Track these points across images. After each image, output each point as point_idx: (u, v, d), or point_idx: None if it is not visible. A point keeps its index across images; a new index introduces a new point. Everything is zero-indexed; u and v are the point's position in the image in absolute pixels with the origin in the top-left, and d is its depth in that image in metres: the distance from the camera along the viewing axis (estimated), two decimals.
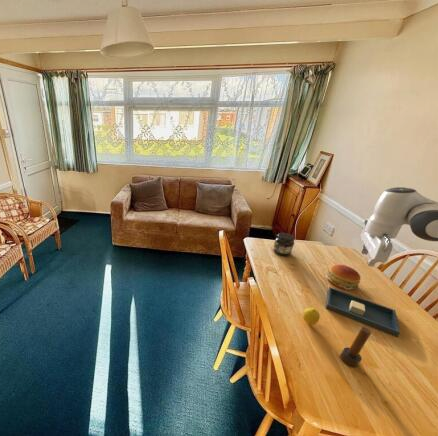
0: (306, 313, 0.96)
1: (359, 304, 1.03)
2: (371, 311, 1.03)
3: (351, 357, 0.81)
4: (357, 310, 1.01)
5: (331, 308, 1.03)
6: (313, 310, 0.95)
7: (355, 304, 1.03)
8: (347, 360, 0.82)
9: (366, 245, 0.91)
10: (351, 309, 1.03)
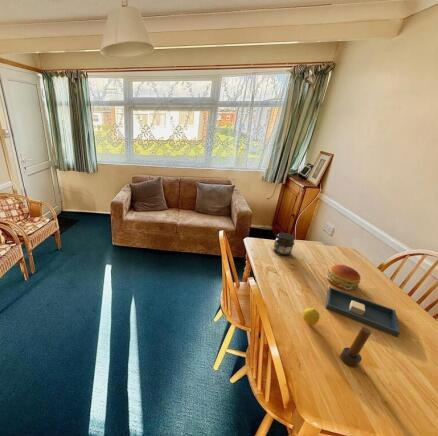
0: (306, 313, 0.96)
1: (359, 304, 1.03)
2: (371, 311, 1.03)
3: (351, 357, 0.81)
4: (357, 310, 1.01)
5: (331, 308, 1.03)
6: (313, 310, 0.95)
7: (355, 304, 1.03)
8: (347, 360, 0.82)
9: None
10: (351, 309, 1.03)
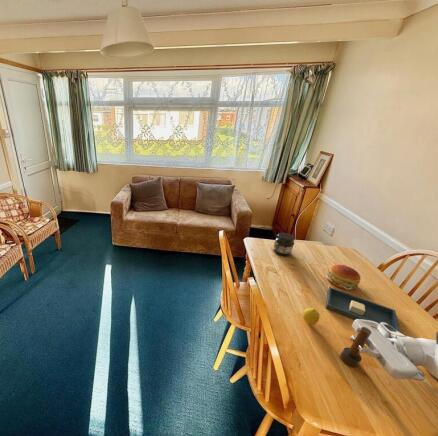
0: (306, 313, 0.96)
1: (359, 304, 1.03)
2: (371, 311, 1.03)
3: (351, 357, 0.81)
4: (357, 310, 1.01)
5: (331, 308, 1.03)
6: (313, 310, 0.95)
7: (355, 304, 1.03)
8: (347, 360, 0.82)
9: (375, 341, 0.79)
10: (351, 309, 1.03)
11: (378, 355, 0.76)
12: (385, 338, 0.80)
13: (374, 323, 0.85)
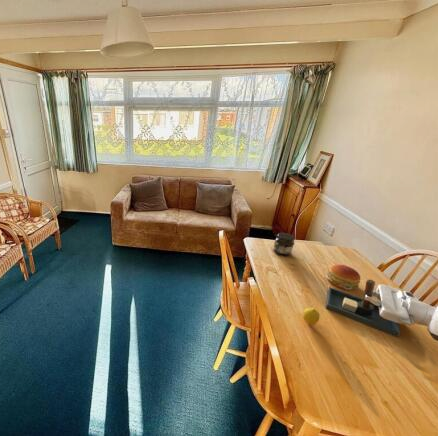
0: (306, 313, 0.96)
1: (352, 301, 1.04)
2: None
3: (362, 306, 1.00)
4: (349, 307, 1.03)
5: (331, 308, 1.03)
6: (313, 310, 0.95)
7: (348, 301, 1.05)
8: (359, 308, 1.01)
9: (384, 296, 0.96)
10: (344, 306, 1.04)
11: (379, 303, 0.94)
12: (398, 299, 0.94)
13: (397, 290, 0.98)
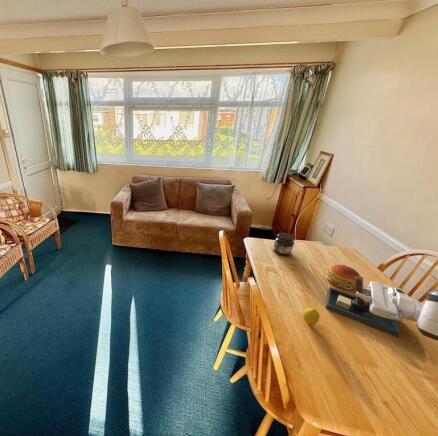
0: (306, 313, 0.96)
1: (346, 299, 1.06)
2: None
3: (356, 303, 1.01)
4: (343, 304, 1.04)
5: (331, 308, 1.03)
6: (313, 310, 0.95)
7: (342, 299, 1.06)
8: (354, 306, 1.02)
9: (375, 292, 0.97)
10: (337, 303, 1.06)
11: (370, 300, 0.96)
12: (389, 295, 0.96)
13: (388, 286, 1.00)
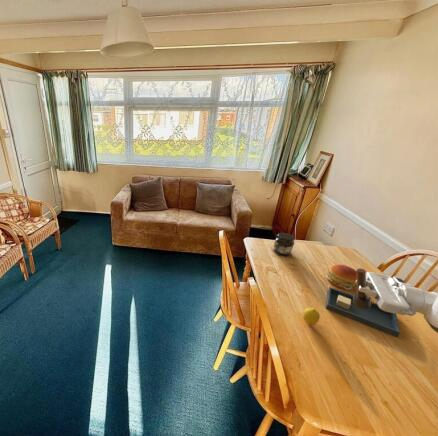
0: (306, 313, 0.96)
1: (345, 299, 1.06)
2: (371, 311, 1.03)
3: (358, 299, 0.91)
4: (343, 304, 1.05)
5: (331, 308, 1.03)
6: (313, 310, 0.95)
7: (341, 298, 1.06)
8: (356, 302, 0.92)
9: (378, 285, 0.88)
10: (337, 303, 1.06)
11: (376, 294, 0.85)
12: (391, 286, 0.87)
13: (386, 276, 0.92)
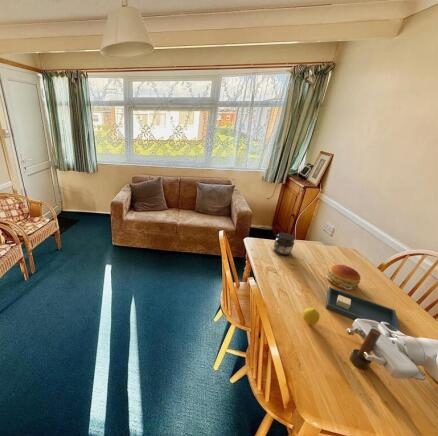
0: (306, 313, 0.96)
1: (345, 299, 1.06)
2: (371, 311, 1.03)
3: (361, 359, 0.80)
4: (343, 304, 1.05)
5: (331, 308, 1.03)
6: (313, 310, 0.95)
7: (341, 298, 1.06)
8: (357, 362, 0.81)
9: None
10: (337, 303, 1.06)
11: (385, 362, 0.73)
12: (386, 338, 0.80)
13: (374, 322, 0.84)
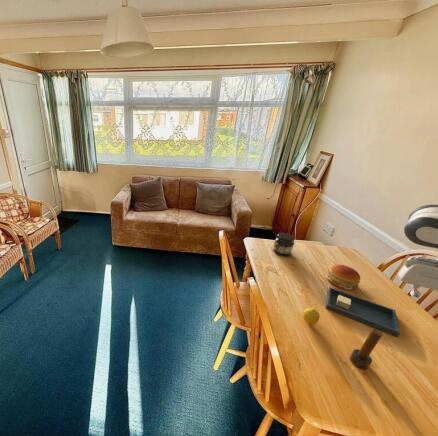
0: (306, 313, 0.96)
1: (345, 299, 1.06)
2: (371, 311, 1.03)
3: (361, 359, 0.80)
4: (343, 304, 1.05)
5: (331, 308, 1.03)
6: (313, 310, 0.95)
7: (341, 298, 1.06)
8: (357, 362, 0.81)
9: None
10: (337, 303, 1.06)
11: None
12: None
13: None
